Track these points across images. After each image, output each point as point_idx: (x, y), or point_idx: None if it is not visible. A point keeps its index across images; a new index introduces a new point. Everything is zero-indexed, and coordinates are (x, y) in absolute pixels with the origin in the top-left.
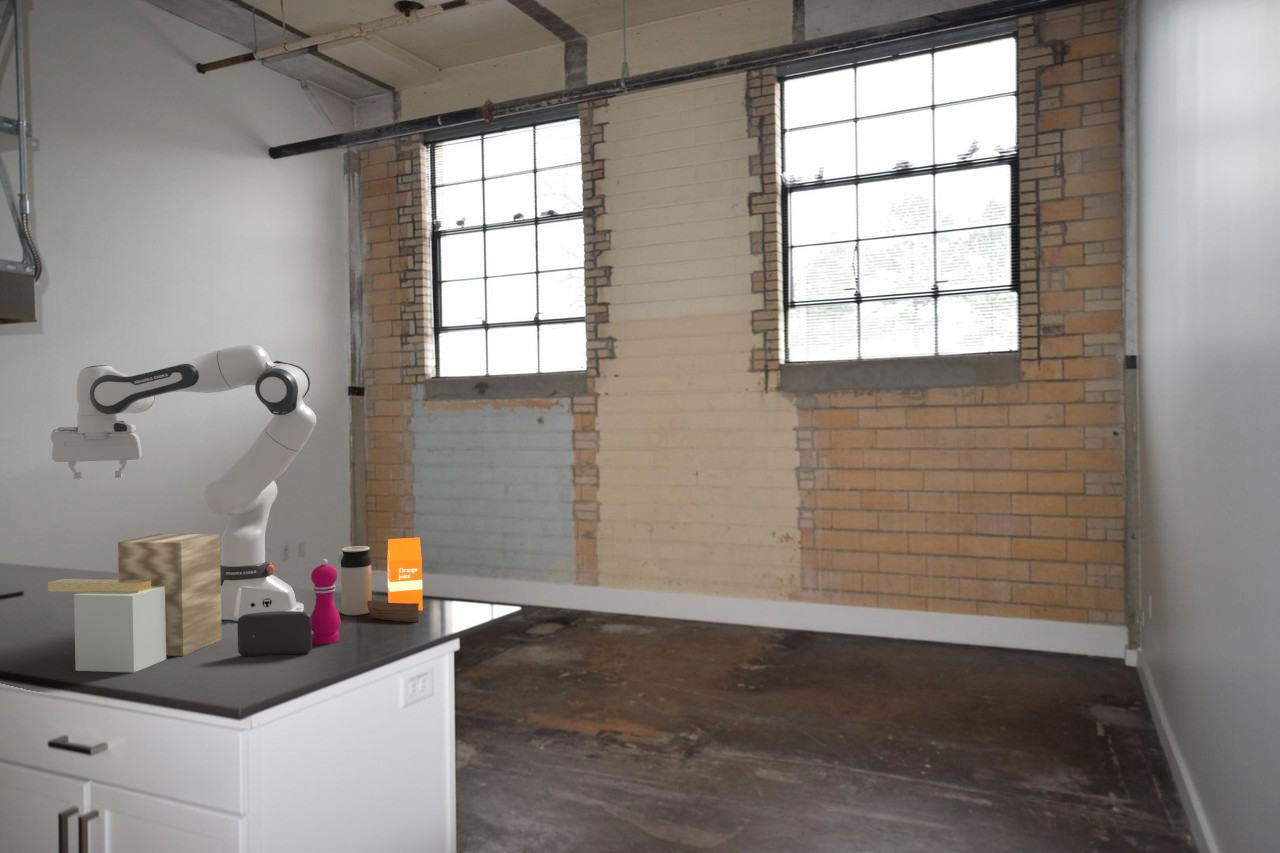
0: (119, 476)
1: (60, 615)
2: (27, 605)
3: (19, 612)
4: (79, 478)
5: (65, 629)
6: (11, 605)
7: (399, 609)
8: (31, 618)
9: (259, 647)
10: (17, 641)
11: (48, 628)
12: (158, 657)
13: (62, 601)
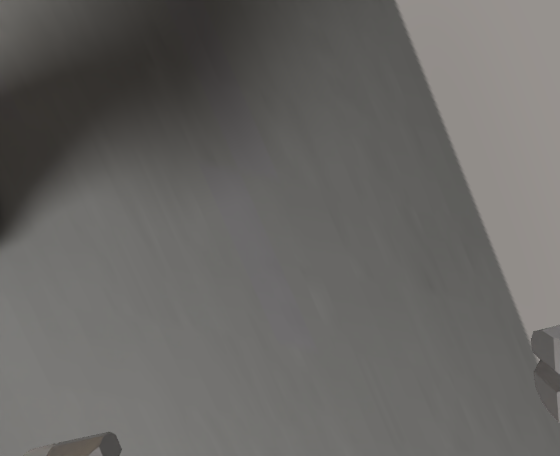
0: (50, 445)
1: (404, 289)
2: (521, 408)
3: (510, 339)
4: (542, 329)
5: (328, 130)
6: None
7: None
8: (458, 270)
9: None
10: (388, 20)
11: (373, 151)
12: None
13: (461, 436)
